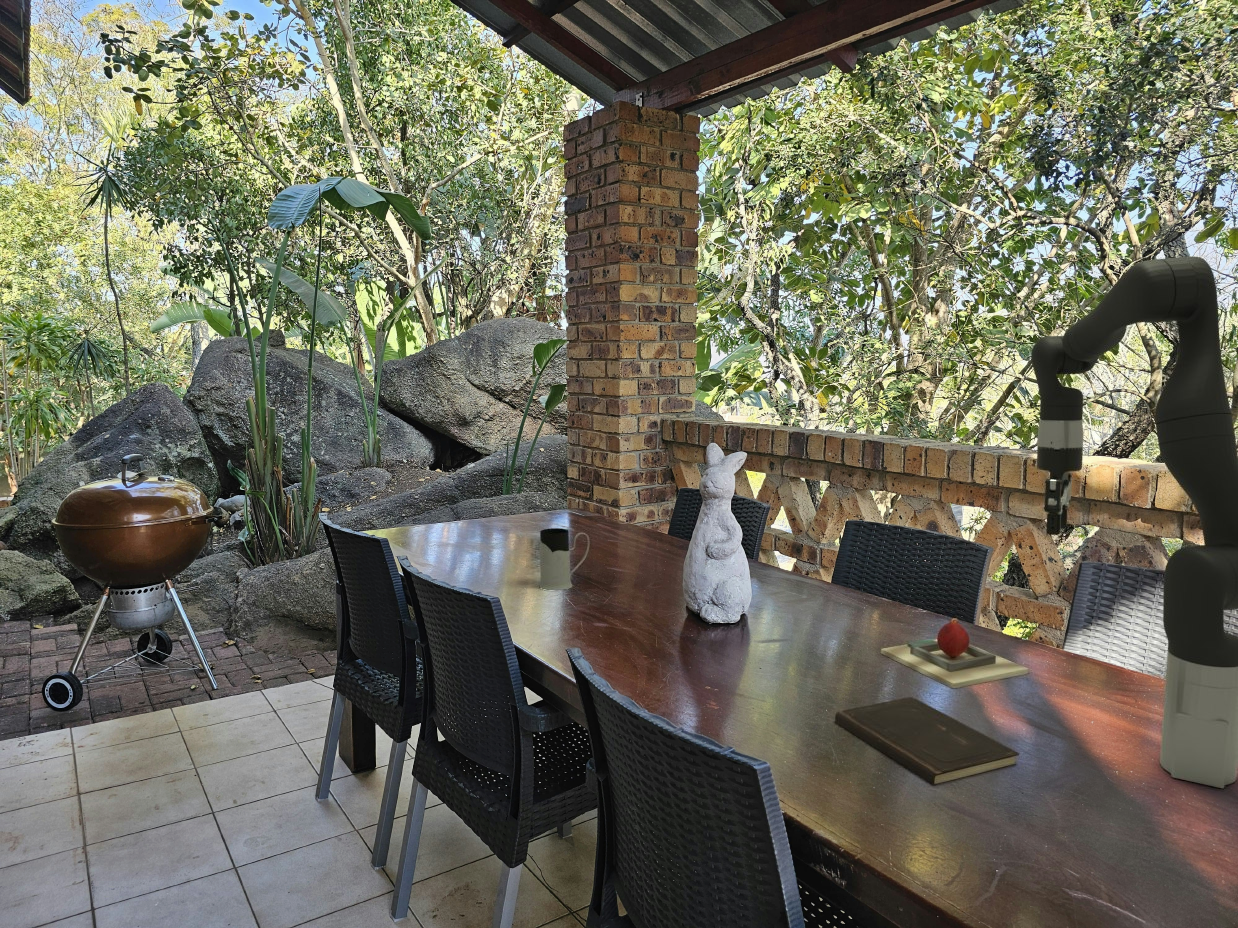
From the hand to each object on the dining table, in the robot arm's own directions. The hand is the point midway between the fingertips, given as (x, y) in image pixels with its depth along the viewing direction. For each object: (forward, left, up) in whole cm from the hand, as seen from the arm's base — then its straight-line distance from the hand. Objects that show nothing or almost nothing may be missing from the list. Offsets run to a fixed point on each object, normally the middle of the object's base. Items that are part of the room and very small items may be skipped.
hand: (1056, 530), depth 160 cm
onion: (-6, +16, -26) cm, 32 cm away
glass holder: (0, +116, -27) cm, 120 cm away
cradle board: (-6, +16, -27) cm, 32 cm away
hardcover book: (-44, +12, -28) cm, 53 cm away
